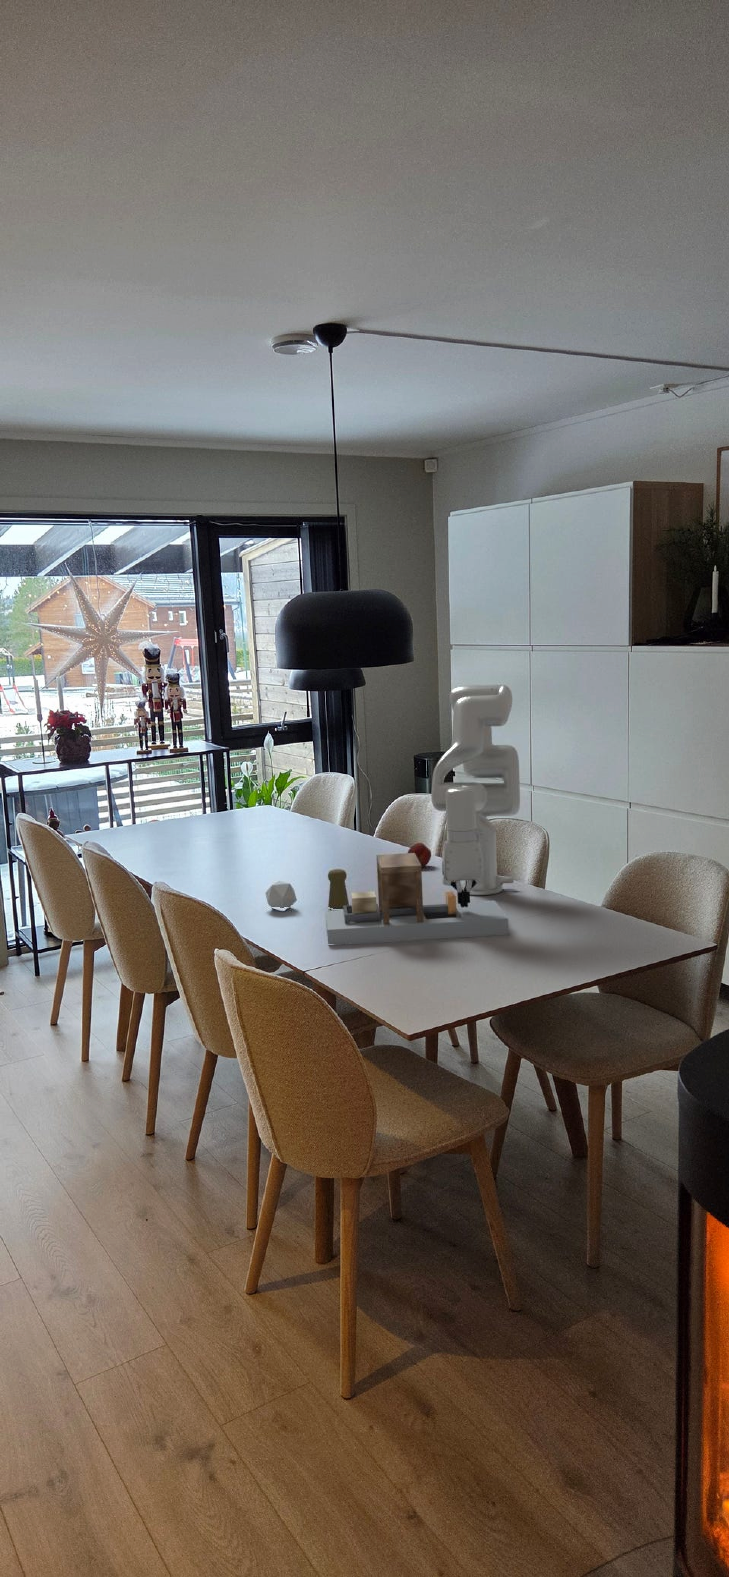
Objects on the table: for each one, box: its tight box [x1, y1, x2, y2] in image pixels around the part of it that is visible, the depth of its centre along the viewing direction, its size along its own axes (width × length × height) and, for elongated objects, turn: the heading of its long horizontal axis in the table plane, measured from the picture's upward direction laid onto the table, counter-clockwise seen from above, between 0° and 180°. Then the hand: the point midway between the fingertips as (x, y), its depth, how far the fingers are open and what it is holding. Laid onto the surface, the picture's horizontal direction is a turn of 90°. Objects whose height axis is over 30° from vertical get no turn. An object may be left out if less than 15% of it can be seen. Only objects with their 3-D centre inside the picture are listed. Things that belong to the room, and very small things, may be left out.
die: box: [265, 880, 298, 908], centre depth 292 cm, size 8×9×10 cm
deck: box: [325, 900, 509, 945], centre depth 266 cm, size 45×18×4 cm, turn 94°
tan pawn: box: [327, 868, 350, 909], centre depth 291 cm, size 6×6×11 cm
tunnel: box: [376, 852, 424, 925], centre depth 265 cm, size 10×15×14 cm, turn 4°
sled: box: [343, 891, 457, 923], centre depth 266 cm, size 28×9×4 cm, turn 94°
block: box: [350, 890, 377, 914], centre depth 265 cm, size 6×6×6 cm
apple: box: [407, 842, 432, 868], centre depth 337 cm, size 7×8×8 cm
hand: (463, 905), depth 267 cm, fingers closed
